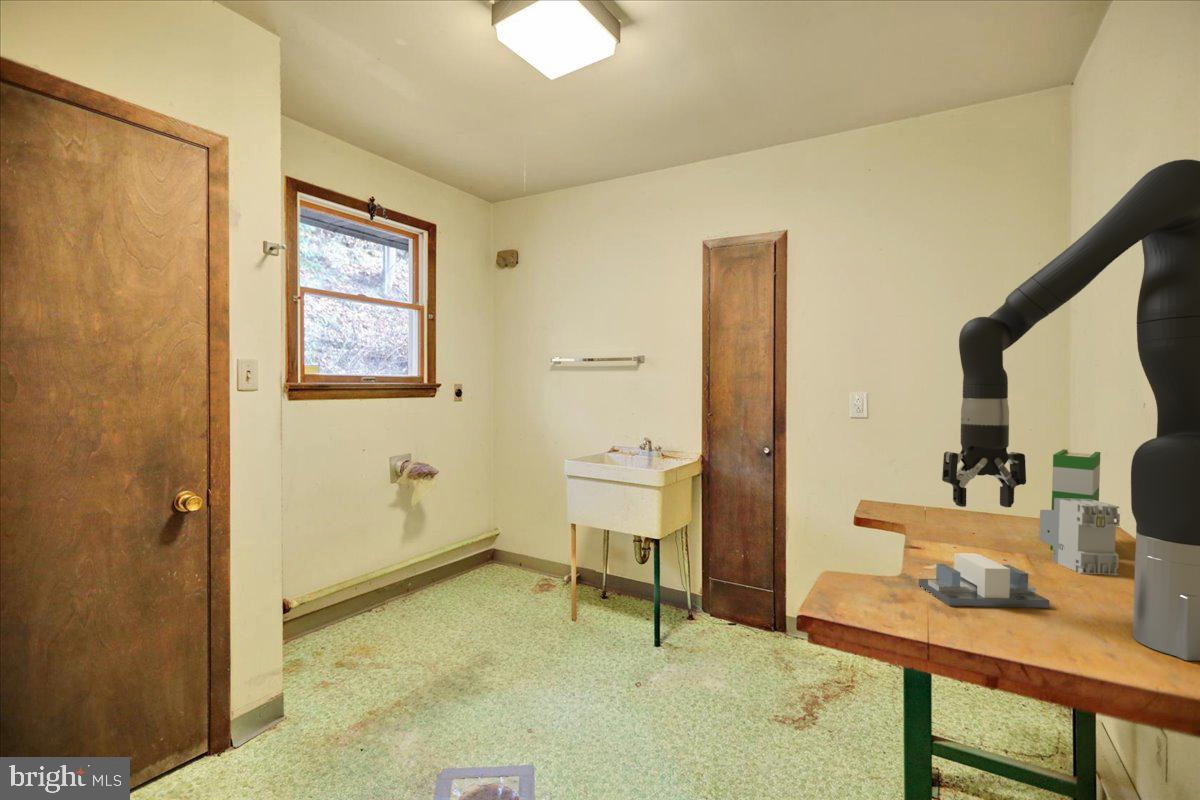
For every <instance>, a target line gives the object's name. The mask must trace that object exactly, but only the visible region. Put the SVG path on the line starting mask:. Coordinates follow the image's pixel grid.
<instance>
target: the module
mask: <svg viewBox="0 0 1200 800" xmlns="http://www.w3.org/2000/svg"><path fill="white" fill-rule="evenodd" d="M953 557H954V558H953V569H955V570H957V571H959V572H961V573H960V580H968V581H970V582H971V583H973V584H975V585H977V594H979V595H980V596H982V597H984V598H1009V592H1010V569H1009V568H1007V567H1005V566H1003V565H1004V564H1000V563H999V562H996V561H994V560H992V559H990V558H987V557H985V556H984V555H981V554H979V553H974V552H973V553H971V552H969V553H964V552H963V553H962V552H960V553H959V552H957V553H956V552H955V553H954V556H953Z"/></svg>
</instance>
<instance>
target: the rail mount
mask: <svg viewBox="0 0 1200 800" xmlns="http://www.w3.org/2000/svg"><path fill="white" fill-rule="evenodd" d="M1002 565H1003V566H1005V567H1007V568H1009V569H1010V592H1009V598H984V597H982V596H980V595H979V594H977V585H975V584H973V583H971V582H970V581H968V580H960V573H961V572H959V571H957V570H955V569H954V567H951V566H949V564H946V563H936V568H935V569H936V570H935V574H936V575H935V578H918V586H919V585H920V586H921V587H923V588H924V589H926V590H927V591H929V592H930V593H932V594H933V595H934V596H936V597H937V598H939V599H940V600H941V601H940V600H939V599H938V600H939V601H940V602H942V603H943V602H944V603H943V604H945V605H946V604H947V605H946V606H948V607H960V606H973V607H972V608H1008V609H1009V608H1013V609H1014V608H1016V609H1017V608H1018V609H1020V608H1021V609H1024V608H1025V609H1050V600H1049V599H1047V598H1046V597H1044V596H1041V595H1039V594H1037V592H1036V590H1037V589H1036V587H1034V586H1032V585H1031V584H1029V572H1025V571H1023V570H1021V569H1019V568H1016V567H1015V566H1012V565H1010V564H1002ZM921 587H920V588H921ZM924 589H923V590H924ZM927 591H926V592H927ZM930 593H929V594H930ZM933 595H932V596H933ZM934 596H933V597H934ZM936 597H935V598H936ZM937 598H936V599H937Z"/></svg>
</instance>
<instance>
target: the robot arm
mask: <svg viewBox="0 0 1200 800" xmlns="http://www.w3.org/2000/svg"><path fill="white" fill-rule="evenodd" d="M1139 242H1141V246H1142V253H1143V262H1144V263H1143V274H1142V279H1141V283H1140V289H1139V293H1138V294H1139V295H1138V301H1137V306H1136V308H1137V309H1136V343H1137V352H1138V356H1139V357H1138V358H1139V362H1140V364H1141V367H1142V369H1143V372H1144V375H1145V376H1146V378H1147V382H1148V383H1149V386H1150V388H1151V391H1152V394H1153V395H1154V399H1155V403H1156V405H1155V406H1156V412H1157V414H1156V415H1157V417H1156V419H1157V423H1156V437H1154V438H1151V439H1149V440H1147V441H1145V442H1143V443H1141V444H1140V446H1138V447H1137V449H1135V451H1134V454H1133V457H1132V460H1131V468H1130V503H1131V505H1130V506H1131V513H1132V515H1133V517H1134V520H1135V525H1136V527H1135V528H1136V529H1135V551H1134V552H1135V553H1134V554H1135V556H1134V578H1133V579H1134V580H1133V581H1134V584H1133V589H1134V590H1133V609H1132V610H1133V612H1132V613H1133V615H1132V638H1133V639H1134V640H1135V641H1136V642H1138V643H1140V645H1144V646H1145V647H1147V648H1150V649H1152V650H1155V651H1158V652H1161V653H1164V654H1167V655H1170V656H1175V657H1177V658H1179V659H1182V660H1185V661H1200V160H1195V159H1192V158H1191V159H1188V158H1185V159H1177V160H1171V161H1168V162H1166V163H1163V164H1161V165H1158V166H1157V167H1154V168H1153V169H1151V170H1150V171H1148V172H1147V173H1145V174H1144V175H1143V176H1142V177H1141V178H1140V179H1139V180H1138V181H1137V182H1136V183H1135V184H1134V185H1133V186H1132V187H1131V188H1130V189H1129V190H1128V191H1127V192H1126V193H1125V194H1124V195H1123V196H1122V197H1121V198H1120V199H1119V200H1118V202H1117V203H1115V205H1113V206H1112V208H1111V209H1109V211H1108V212H1107V213H1105V215H1103V216H1102V218H1100V219H1099V220H1098V221H1097V222H1096V223H1095V224H1094V225H1092V227H1090V228H1089V229H1088V230H1087V231H1086V232H1085V233H1084V234H1083V235H1081V236H1080V237H1079V238H1078V239H1077V240H1075V242H1073V243H1072V244H1071V245H1070V246H1068V247H1067V248H1066V249H1065V250H1064V251H1062V252H1061V253H1060V254H1058V255H1057V256H1056V257H1055V258H1053V259H1052V260H1051V261H1049V262H1048V263H1047V264H1046V265H1044V266H1043V267H1042V268H1041V269H1039V270H1038V271H1036V272H1035V273H1034V274H1033V275H1032V276H1030V277H1029V278H1028V279H1027V280H1025V281H1024V282H1023V283H1021V284H1020V285H1019V286H1018V287H1016V288H1015V289H1014V290H1013V291H1011V292H1010V293H1009V294H1008V295H1007V297H1006V298H1005V301H1004V303H1003V304H1002V305H1001V306H999V308H997V309H996V310H995V311H994V312H993V313H991V314H990V315H989V316H977V317H975V318H972V319H970V320H968V321H967V322H966V323H965V324H964V325H963V326H962V328H961V330H960V332H959V336H958V337H959V339H958V351H959V358H960V363H961V369H962V375H963V376H962V377H963V378H962V379H963V380H962V403H961V408H960V445H961V451H960V453H959V452H952V451H945V452H944V453H943V461H942V474H941V475H942V476H941V480H942V482H944V483H947V484H950V485H952V501H953V503H955V505H956V506H957V507H960V508H965V507H967V487H966V486H967V485H968V484H969V482H970V481H971V480H973V479H974V478H976V476H986V475H988V476H993V477H994V478H996V479H997V481H998V482H999V483H1000V485H1001V486H999V505H1000V506H1001V507H1004V508H1012V506H1013V505H1014V502H1015V488H1017V487H1018V486H1020V485H1022V486H1023V485H1025V484H1026V483H1027V473H1026V472H1027V471H1026V455H1025V454H1024V453H1020V452H1018V451H1017V452H1016V451H1015V452H1014V451H1012V452H1011V451H1010V452H1009V453H1008V450H1007V449H1008V447H1009V445H1010V444H1009V443H1010V408H1009V397H1008V396H1009V388H1008V387H1009V385H1008V384H1009V380H1008V379H1009V378H1008V373H1007V371H1006V369H1005V368H1004V353H1003V352H1004V351H1005V350H1007V349H1008V348H1010V347H1012V346H1013V345H1015V343H1016V342H1017V341H1019V340H1021V338H1022V337H1024V335H1026V334H1027V333H1028V332H1029V331H1030V330H1031V329H1032V328H1033V327H1034V326H1035V325H1036V324H1037V323H1039V322H1040V321H1042V320H1043V319H1045V318H1046V317H1048V316H1049V315H1051V314H1052V313H1053V312H1055V311H1056V310H1058V309H1059V308H1061V307H1062V306H1063V305H1065V304H1066V303H1067V302H1068V301H1070V300H1072V299H1073V298H1074V297H1076V296H1077V294H1079V293H1080V292H1082V291H1083V290H1084V289H1085V288H1087V286H1089V284H1091V283H1092V281H1093V280H1094V279H1096V277H1098V276H1099V275H1100V274H1101V273H1102V272H1104V270H1105V269H1106V268H1107V267H1108V266H1109V265H1110V264H1112V263H1113V262H1114V261H1115V260H1116V259H1118V258H1119V257H1120V256H1122V255H1123V254H1124V253H1125V252H1126V251H1128V250H1129V249H1131V247H1133V246H1135V245H1136V244H1137V243H1139ZM960 462H961V463H962V465H961V466H960V467H959V468H958V464H959V463H960ZM1007 462H1008V464H1009V470H1008V468H1007V467H1006V466H1005V465H1006V464H1007Z"/></svg>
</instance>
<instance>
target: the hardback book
mask: <svg viewBox="0 0 1200 800" xmlns="http://www.w3.org/2000/svg"><path fill="white" fill-rule="evenodd" d="M1068 450H1069V449H1061V450H1059V451H1057V452H1056V453H1054V454H1053V456H1052V482H1051V483H1052V485H1051V486H1052V488H1051V510H1054V498H1072V499H1092V500H1096V501H1100V480H1101V479H1100V477H1101V452H1100V451H1094V452H1093V453H1085V452H1084V453H1082V452H1071V451H1070V452H1069V451H1068ZM1049 549H1050V551H1052V550H1053V546H1052V545H1050V548H1049Z"/></svg>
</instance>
